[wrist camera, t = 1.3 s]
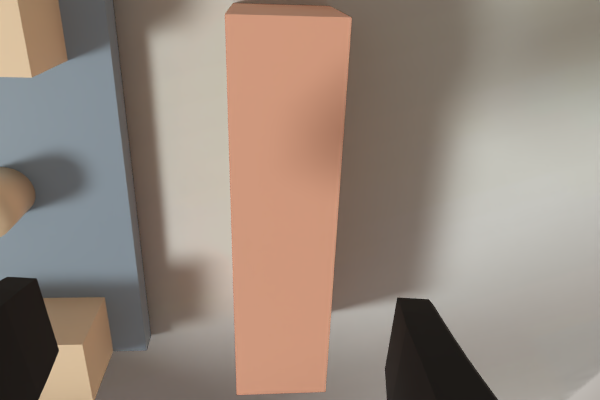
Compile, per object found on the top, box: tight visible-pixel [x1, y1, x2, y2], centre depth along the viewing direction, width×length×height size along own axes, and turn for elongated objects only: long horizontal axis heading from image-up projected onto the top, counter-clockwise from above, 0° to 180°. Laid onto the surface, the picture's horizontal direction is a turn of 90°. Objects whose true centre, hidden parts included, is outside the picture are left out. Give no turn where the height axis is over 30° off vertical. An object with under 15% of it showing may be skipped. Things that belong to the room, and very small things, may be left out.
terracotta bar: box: [225, 3, 352, 395], centre depth 19 cm, size 14×4×5 cm, turn 178°
